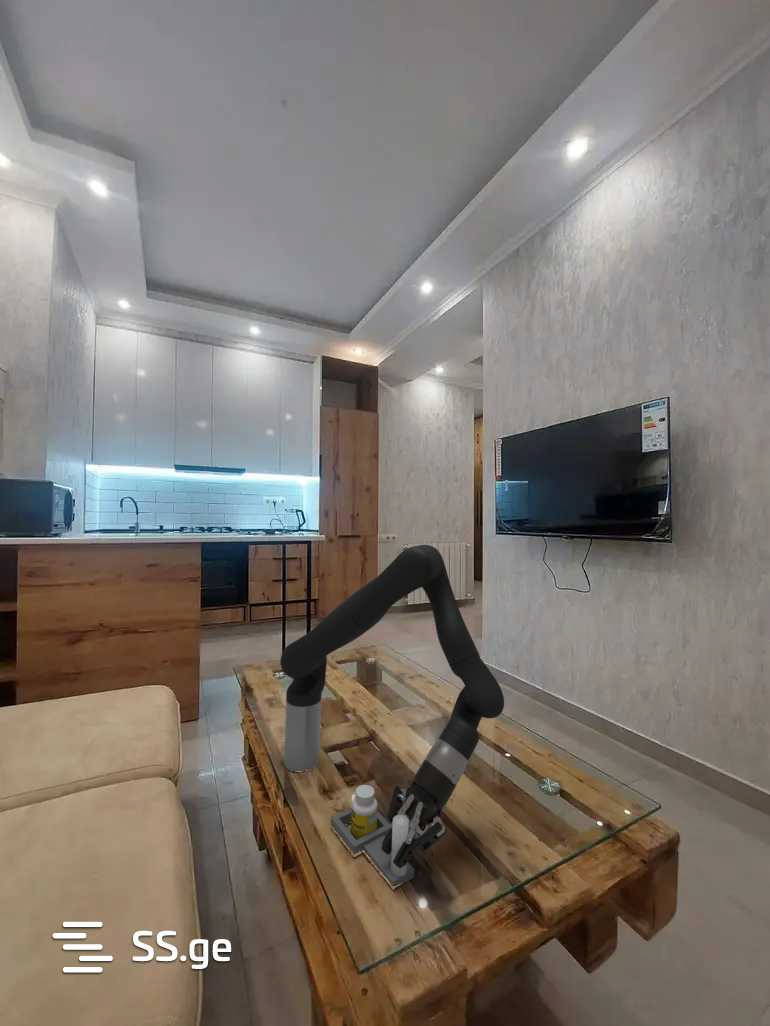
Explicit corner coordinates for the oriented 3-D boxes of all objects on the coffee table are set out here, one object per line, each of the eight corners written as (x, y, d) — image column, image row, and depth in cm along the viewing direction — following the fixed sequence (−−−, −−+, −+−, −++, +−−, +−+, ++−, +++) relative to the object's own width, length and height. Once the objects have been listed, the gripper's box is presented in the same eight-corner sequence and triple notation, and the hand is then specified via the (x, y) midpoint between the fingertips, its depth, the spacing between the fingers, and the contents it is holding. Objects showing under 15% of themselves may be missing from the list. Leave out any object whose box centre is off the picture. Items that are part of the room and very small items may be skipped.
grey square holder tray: (330, 828, 92) (332, 777, 92) (367, 810, 98) (369, 763, 97) (382, 897, 76) (385, 836, 76) (422, 871, 82) (425, 815, 82)
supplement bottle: (345, 835, 90) (347, 789, 90) (365, 822, 94) (366, 778, 94) (361, 851, 86) (363, 803, 86) (381, 837, 90) (383, 791, 90)
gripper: (408, 745, 90) (358, 827, 83) (457, 781, 79) (404, 879, 72) (426, 761, 93) (379, 841, 86) (476, 798, 82) (426, 894, 75)
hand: (390, 858), depth 79 cm, fingers closed on grey square holder tray, 3 cm apart
